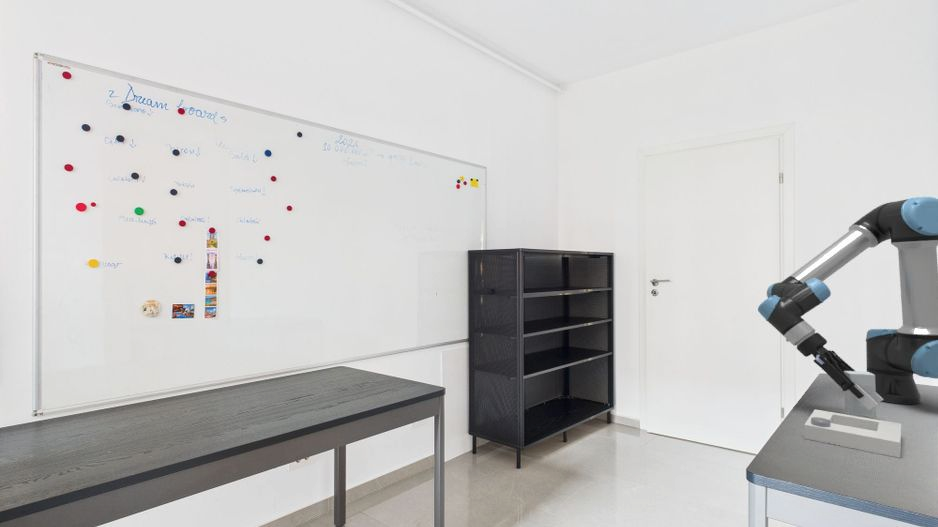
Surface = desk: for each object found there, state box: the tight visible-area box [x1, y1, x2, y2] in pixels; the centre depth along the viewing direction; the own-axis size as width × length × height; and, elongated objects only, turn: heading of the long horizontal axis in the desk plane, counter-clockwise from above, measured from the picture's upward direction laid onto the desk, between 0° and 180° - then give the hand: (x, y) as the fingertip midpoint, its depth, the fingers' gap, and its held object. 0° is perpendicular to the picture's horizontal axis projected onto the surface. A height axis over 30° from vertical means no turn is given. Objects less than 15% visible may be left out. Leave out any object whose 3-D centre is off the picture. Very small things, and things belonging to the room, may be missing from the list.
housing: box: [803, 409, 902, 459], centre depth 121 cm, size 18×18×5 cm
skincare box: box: [844, 370, 877, 418], centre depth 135 cm, size 6×4×12 cm
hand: (876, 404), depth 132 cm, fingers closed on skincare box, 6 cm apart
